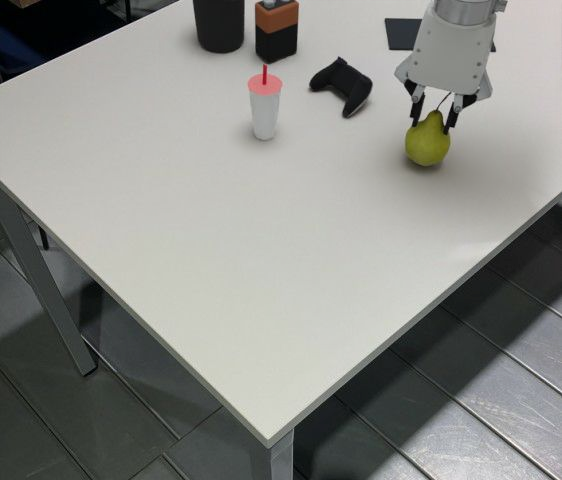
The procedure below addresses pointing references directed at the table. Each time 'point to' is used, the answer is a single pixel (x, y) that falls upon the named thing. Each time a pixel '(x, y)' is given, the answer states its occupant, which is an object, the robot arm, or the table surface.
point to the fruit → (428, 139)
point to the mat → (405, 33)
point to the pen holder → (220, 24)
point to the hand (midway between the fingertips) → (431, 124)
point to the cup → (264, 103)
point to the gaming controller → (344, 84)
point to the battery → (276, 28)
